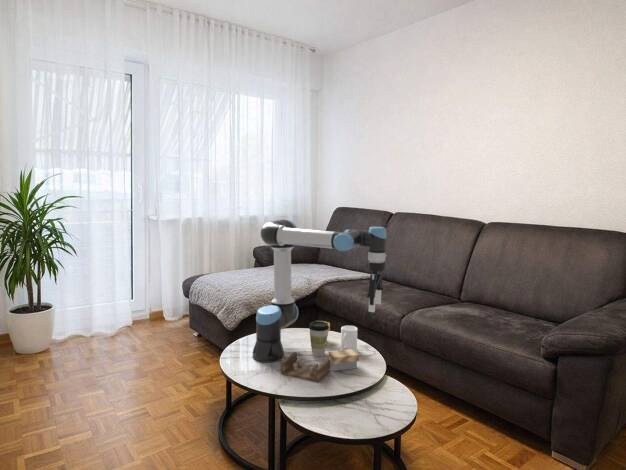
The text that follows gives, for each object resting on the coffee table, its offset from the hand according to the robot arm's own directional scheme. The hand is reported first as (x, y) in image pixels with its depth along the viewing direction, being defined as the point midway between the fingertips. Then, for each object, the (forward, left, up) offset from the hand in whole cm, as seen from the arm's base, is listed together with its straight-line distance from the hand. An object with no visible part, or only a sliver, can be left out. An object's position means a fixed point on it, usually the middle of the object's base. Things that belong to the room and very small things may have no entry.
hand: (374, 307), depth 191 cm
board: (-11, -9, -23) cm, 27 cm away
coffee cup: (-28, +1, -28) cm, 39 cm away
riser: (-11, -9, -27) cm, 31 cm away
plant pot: (-34, +16, -28) cm, 47 cm away
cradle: (-24, -21, -27) cm, 42 cm away
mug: (-16, +9, -28) cm, 33 cm away
